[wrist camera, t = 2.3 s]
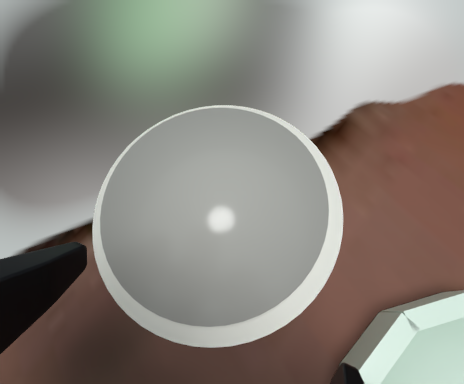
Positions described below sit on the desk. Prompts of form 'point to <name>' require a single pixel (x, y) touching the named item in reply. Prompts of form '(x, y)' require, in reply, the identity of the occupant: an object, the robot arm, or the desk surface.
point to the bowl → (414, 343)
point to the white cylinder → (217, 226)
